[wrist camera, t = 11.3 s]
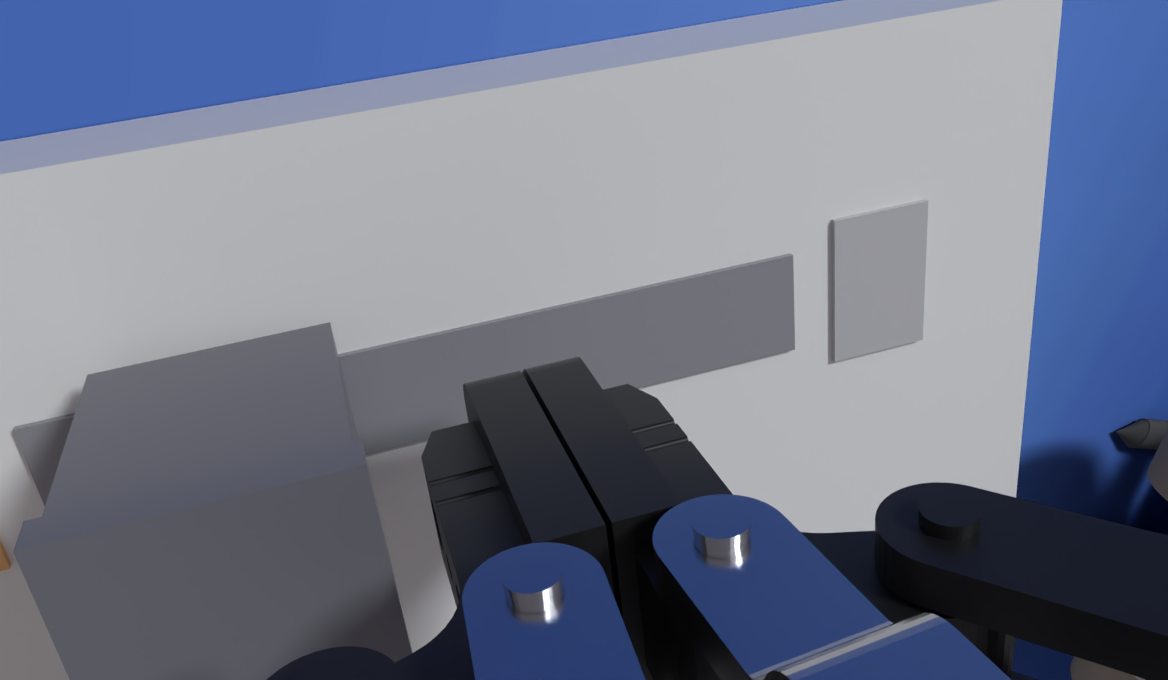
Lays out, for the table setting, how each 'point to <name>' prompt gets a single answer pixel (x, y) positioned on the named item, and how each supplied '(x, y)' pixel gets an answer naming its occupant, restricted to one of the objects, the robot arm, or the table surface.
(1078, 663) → the black toy car
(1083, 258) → the table surface
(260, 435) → the handle
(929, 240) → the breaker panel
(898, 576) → the robot arm
